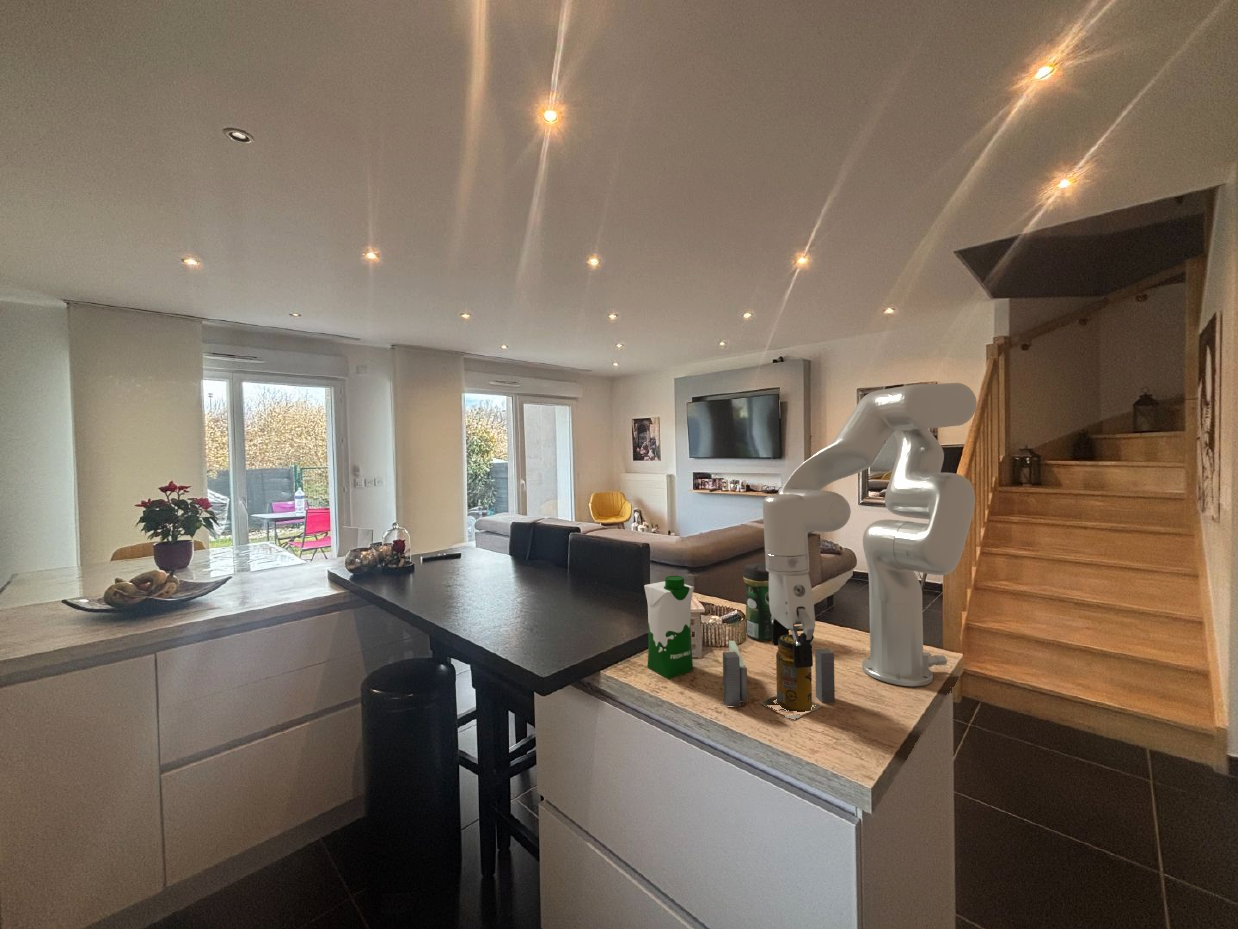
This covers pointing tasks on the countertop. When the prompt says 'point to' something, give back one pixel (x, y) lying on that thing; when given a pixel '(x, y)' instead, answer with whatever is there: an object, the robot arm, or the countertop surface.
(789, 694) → the condiment
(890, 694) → the countertop surface
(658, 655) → the milk carton
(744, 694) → the panel
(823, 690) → the gate posts
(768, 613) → the coffee jar
